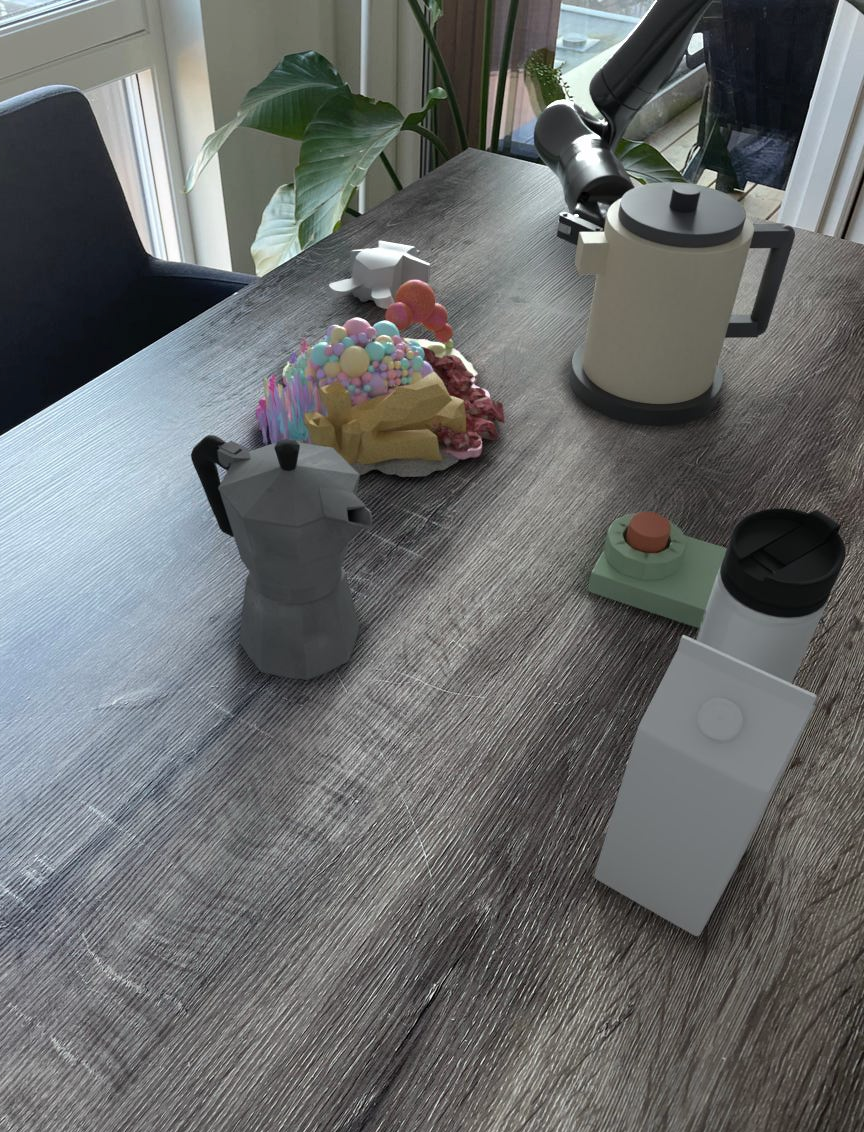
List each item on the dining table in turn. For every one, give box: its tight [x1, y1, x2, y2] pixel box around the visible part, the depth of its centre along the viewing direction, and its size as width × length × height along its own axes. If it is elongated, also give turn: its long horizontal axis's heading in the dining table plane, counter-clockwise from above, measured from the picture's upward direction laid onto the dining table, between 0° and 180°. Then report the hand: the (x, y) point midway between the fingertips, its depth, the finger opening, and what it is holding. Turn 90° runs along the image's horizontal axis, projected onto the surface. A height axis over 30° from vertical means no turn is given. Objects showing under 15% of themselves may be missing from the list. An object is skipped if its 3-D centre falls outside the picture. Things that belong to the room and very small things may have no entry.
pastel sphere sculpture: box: [255, 280, 505, 478], centre depth 98 cm, size 25×24×9 cm
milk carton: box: [593, 634, 818, 937], centre depth 59 cm, size 7×7×19 cm
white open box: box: [324, 240, 431, 310], centre depth 115 cm, size 10×5×15 cm
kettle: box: [569, 181, 796, 427], centre depth 98 cm, size 16×20×20 cm
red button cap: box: [626, 511, 671, 553], centre depth 82 cm, size 3×3×2 cm
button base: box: [587, 513, 727, 629], centre depth 82 cm, size 14×8×4 cm, turn 63°
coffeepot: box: [190, 434, 373, 681], centre depth 73 cm, size 15×9×18 cm, turn 54°
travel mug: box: [695, 507, 847, 684], centre depth 65 cm, size 6×7×20 cm
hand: (629, 260), depth 109 cm, fingers closed
